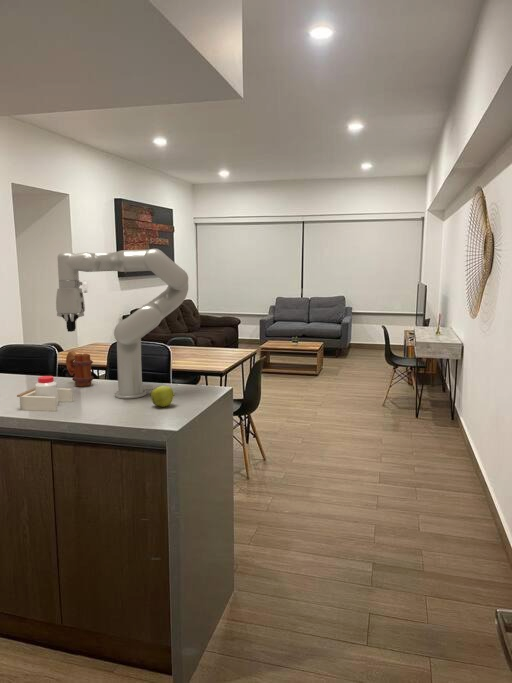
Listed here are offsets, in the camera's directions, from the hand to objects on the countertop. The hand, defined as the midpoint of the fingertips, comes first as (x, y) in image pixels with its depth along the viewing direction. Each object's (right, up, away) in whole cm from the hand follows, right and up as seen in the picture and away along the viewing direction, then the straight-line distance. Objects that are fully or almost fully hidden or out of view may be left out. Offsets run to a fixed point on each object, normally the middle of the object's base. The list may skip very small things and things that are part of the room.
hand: (71, 331), depth 202 cm
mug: (-6, -24, +26) cm, 36 cm away
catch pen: (-6, -29, -8) cm, 30 cm away
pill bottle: (-6, -29, -9) cm, 31 cm away
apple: (+39, -29, -10) cm, 49 cm away
